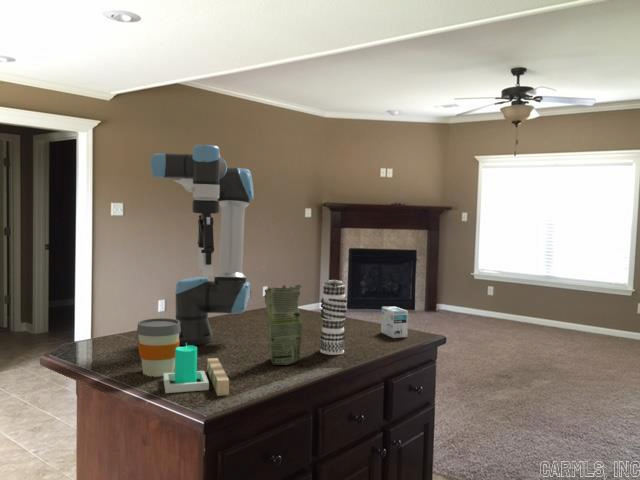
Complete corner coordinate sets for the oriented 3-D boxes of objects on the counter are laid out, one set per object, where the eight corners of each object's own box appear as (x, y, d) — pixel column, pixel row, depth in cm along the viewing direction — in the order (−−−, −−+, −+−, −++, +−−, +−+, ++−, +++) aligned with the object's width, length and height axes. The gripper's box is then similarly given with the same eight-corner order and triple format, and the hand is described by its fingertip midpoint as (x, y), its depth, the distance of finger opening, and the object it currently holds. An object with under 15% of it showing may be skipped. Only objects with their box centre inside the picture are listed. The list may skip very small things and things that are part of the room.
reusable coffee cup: (188, 372, 166) (189, 322, 165) (151, 381, 157) (151, 328, 156) (165, 363, 174) (165, 316, 174) (128, 371, 165) (128, 321, 164)
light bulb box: (408, 337, 219) (408, 310, 219) (393, 338, 217) (393, 311, 216) (394, 331, 229) (395, 305, 229) (380, 332, 227) (381, 306, 226)
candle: (198, 381, 157) (199, 340, 157) (194, 388, 151) (195, 345, 151) (177, 381, 157) (177, 339, 156) (172, 388, 151) (173, 345, 150)
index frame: (163, 380, 158) (163, 373, 158) (204, 377, 162) (204, 370, 162) (165, 393, 147) (165, 385, 147) (208, 389, 151) (209, 382, 151)
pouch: (261, 365, 176) (263, 286, 174) (270, 355, 187) (271, 281, 186) (296, 367, 174) (298, 288, 173) (302, 357, 186) (304, 283, 184)
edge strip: (207, 371, 167) (207, 358, 167) (217, 371, 168) (217, 358, 168) (217, 395, 146) (217, 380, 146) (228, 394, 147) (229, 380, 147)
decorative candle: (350, 351, 196) (352, 280, 194) (336, 356, 188) (338, 283, 187) (328, 346, 201) (330, 278, 199) (314, 351, 193) (316, 280, 192)
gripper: (189, 198, 170) (188, 266, 172) (196, 200, 147) (195, 279, 148) (214, 198, 173) (213, 266, 174) (225, 200, 149) (224, 278, 151)
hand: (205, 272), depth 161 cm, fingers open, 13 cm apart
